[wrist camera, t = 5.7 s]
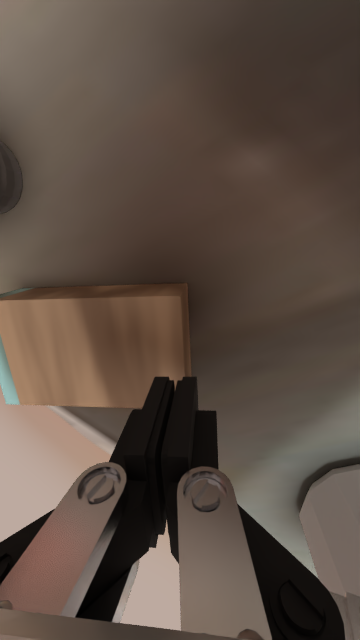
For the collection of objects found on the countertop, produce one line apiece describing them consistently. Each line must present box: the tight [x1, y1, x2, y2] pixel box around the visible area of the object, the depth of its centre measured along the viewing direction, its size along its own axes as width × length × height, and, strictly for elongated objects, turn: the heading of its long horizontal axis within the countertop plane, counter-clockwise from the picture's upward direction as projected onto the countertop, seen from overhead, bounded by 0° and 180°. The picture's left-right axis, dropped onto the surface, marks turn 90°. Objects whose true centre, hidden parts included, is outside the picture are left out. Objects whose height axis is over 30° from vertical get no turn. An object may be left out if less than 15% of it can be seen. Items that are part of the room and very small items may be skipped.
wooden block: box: [0, 283, 191, 408], centre depth 17 cm, size 4×7×12 cm
